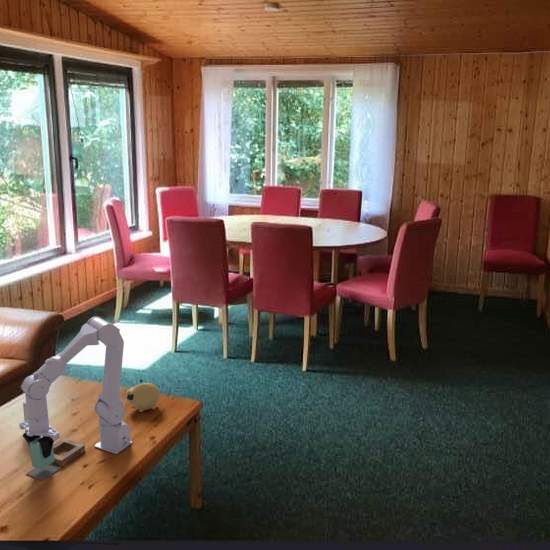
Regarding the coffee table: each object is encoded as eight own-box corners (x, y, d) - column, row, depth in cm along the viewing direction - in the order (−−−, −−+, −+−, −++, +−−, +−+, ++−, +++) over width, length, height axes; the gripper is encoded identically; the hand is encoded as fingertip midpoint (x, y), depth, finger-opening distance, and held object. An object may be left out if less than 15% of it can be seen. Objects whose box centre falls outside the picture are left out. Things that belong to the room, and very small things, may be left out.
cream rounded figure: (129, 402, 223) (128, 377, 221) (161, 402, 224) (160, 376, 221) (124, 416, 214) (123, 389, 211) (158, 415, 215) (157, 388, 212)
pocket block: (85, 450, 192) (84, 445, 191) (61, 466, 183) (61, 460, 183) (64, 443, 196) (64, 437, 195) (40, 459, 187) (40, 452, 187)
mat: (60, 468, 182) (60, 467, 182) (42, 481, 176) (42, 480, 176) (44, 462, 185) (44, 461, 185) (26, 474, 179) (26, 473, 179)
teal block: (54, 461, 181) (52, 438, 179) (41, 469, 177) (39, 446, 175) (44, 457, 183) (42, 434, 181) (32, 465, 179) (29, 442, 177)
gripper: (9, 414, 175) (13, 454, 179) (44, 426, 169) (48, 468, 173) (28, 404, 181) (32, 443, 185) (63, 415, 175) (67, 456, 179)
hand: (41, 454), depth 179 cm, fingers closed on teal block, 4 cm apart
